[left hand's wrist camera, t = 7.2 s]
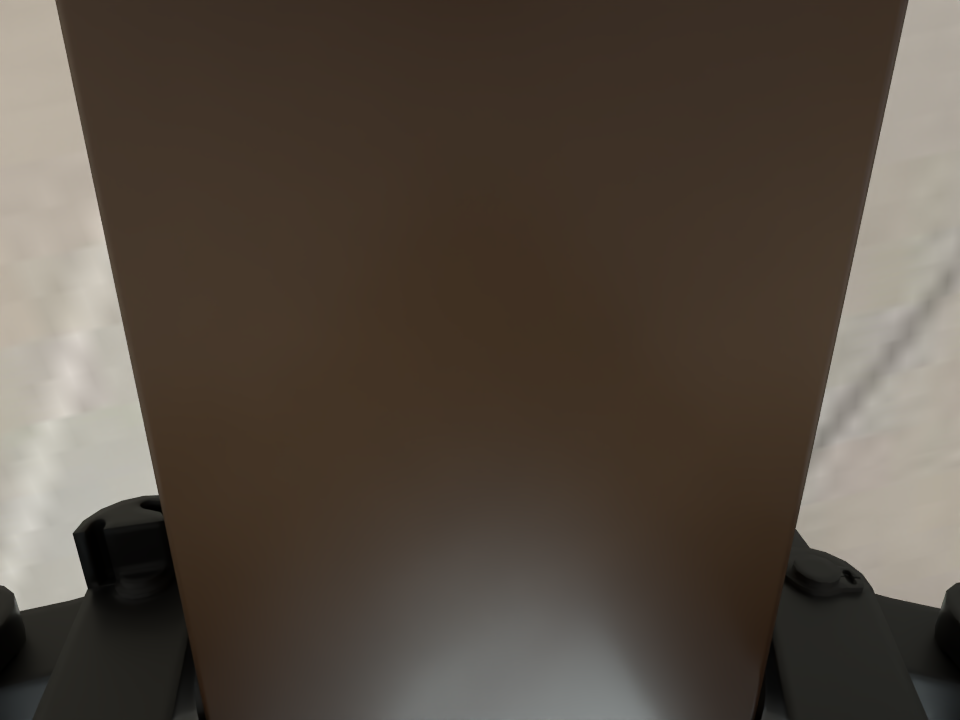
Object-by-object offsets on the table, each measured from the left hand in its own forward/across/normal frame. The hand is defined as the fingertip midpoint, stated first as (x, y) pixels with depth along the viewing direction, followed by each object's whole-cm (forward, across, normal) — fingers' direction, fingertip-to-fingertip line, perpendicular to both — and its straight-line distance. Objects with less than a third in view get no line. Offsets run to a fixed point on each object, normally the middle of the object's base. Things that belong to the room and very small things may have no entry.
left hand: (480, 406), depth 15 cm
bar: (+1, 0, -7) cm, 7 cm away
